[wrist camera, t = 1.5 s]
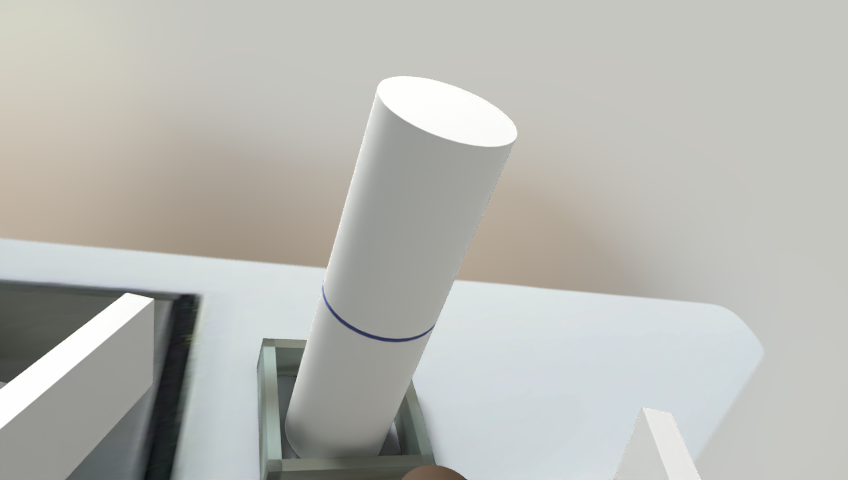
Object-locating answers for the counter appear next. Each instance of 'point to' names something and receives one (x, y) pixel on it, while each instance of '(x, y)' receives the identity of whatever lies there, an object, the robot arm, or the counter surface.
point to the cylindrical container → (394, 260)
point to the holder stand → (337, 476)
